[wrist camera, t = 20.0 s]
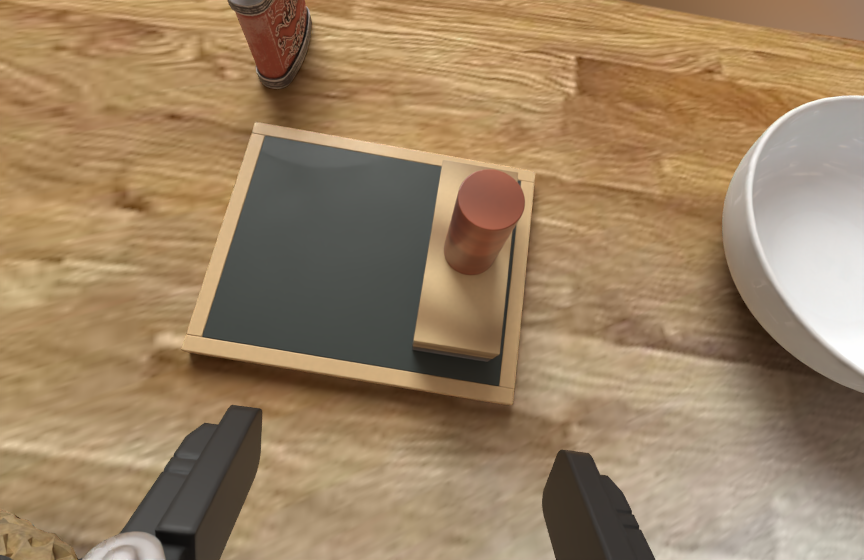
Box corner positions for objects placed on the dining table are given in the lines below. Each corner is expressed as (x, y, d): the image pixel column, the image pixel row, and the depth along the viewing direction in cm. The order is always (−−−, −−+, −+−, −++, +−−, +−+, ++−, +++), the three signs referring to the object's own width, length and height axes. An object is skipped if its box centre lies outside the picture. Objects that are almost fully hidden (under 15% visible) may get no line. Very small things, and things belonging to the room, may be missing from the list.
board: (188, 352, 29) (180, 350, 28) (259, 131, 34) (255, 121, 33) (508, 405, 30) (513, 404, 29) (531, 179, 35) (535, 170, 34)
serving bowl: (955, 208, 37) (1076, 163, 30) (941, 462, 31) (1088, 474, 24) (713, 112, 38) (779, 47, 31) (651, 338, 32) (717, 316, 25)
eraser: (488, 362, 29) (534, 332, 19) (411, 349, 29) (418, 313, 19) (506, 197, 33) (552, 102, 23) (438, 185, 33) (455, 85, 23)
